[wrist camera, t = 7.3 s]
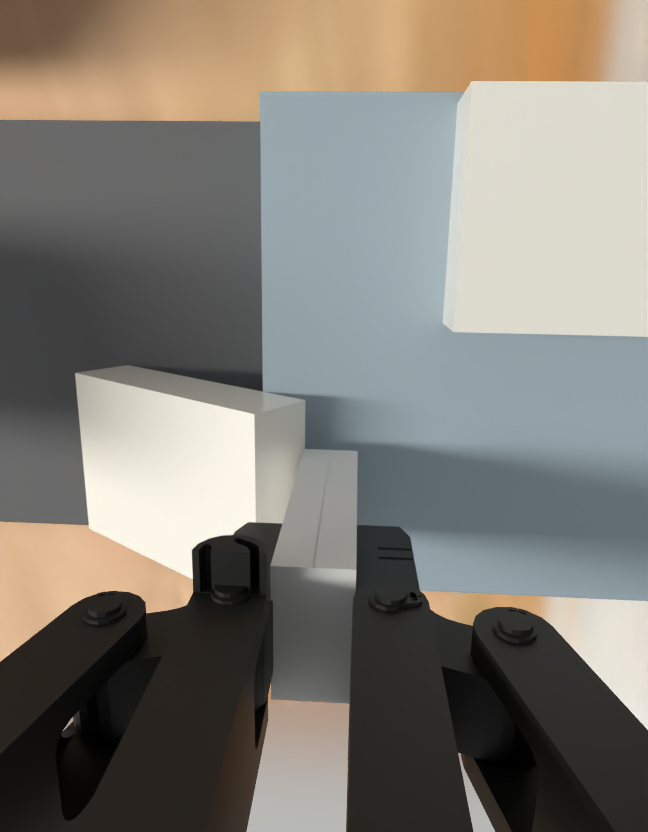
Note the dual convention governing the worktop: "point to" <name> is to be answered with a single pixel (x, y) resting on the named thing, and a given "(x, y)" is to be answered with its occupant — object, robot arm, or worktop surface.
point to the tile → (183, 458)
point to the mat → (117, 279)
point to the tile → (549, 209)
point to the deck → (440, 364)
